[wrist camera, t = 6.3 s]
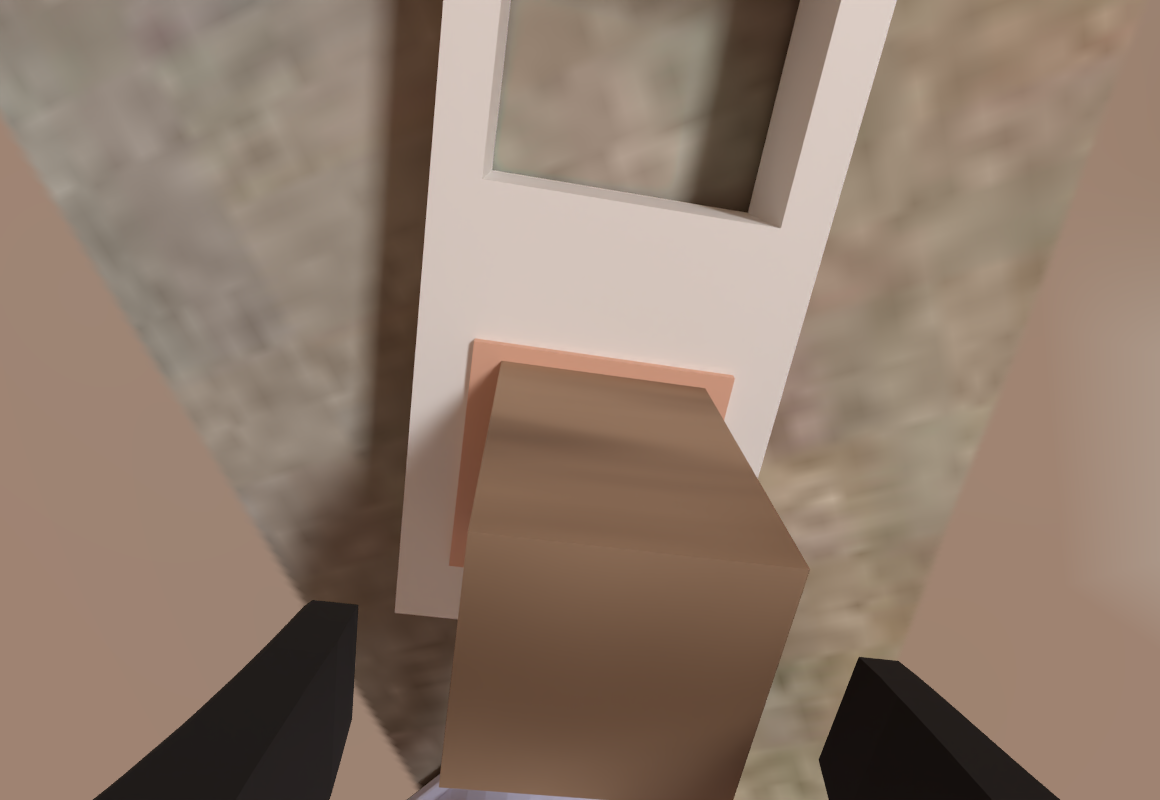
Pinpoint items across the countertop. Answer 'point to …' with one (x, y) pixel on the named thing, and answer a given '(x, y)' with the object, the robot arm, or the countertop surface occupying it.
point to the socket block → (611, 270)
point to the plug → (614, 595)
